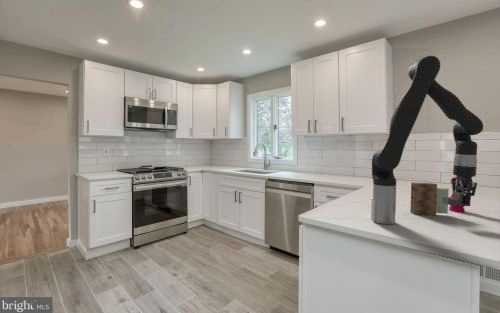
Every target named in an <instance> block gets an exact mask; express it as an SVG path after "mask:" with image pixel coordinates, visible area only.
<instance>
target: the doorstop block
mask: <svg viewBox="0 0 500 313" xmlns="http://www.w3.org/2000/svg"><path fill="white" fill-rule="evenodd" d="M452 193H453V197H451V196H448V197H443V200H442V202H444V203H446V204H448V206H449V205H460V206H465V207H471V203H470V204H469V205H463V192H453V191H452ZM471 200H472V196H471V197H470V202H471Z"/></svg>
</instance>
